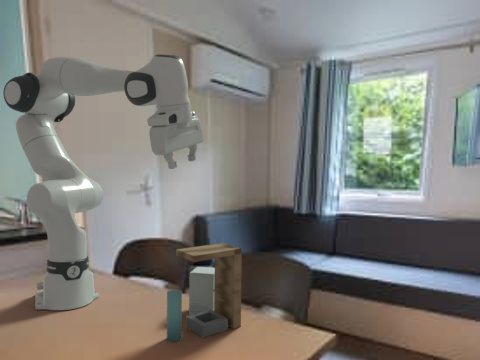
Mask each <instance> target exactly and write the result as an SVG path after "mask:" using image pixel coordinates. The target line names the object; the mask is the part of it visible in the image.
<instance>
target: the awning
mask: <svg viewBox="0 0 480 360" xmlns="http://www.w3.org/2000/svg"><path fill="white" fill-rule="evenodd" d="M242 249H243V248H241V247H239V246H234V245H231V244H227V243H225V242H217V243H211V244H205V245H198V246H192V247H184V248H177V249H176V251H175V255H176V256H177V257H180V258H182V259H184V260H188V261H191V262H193V263H196V262H203V261H207V260H208V261H209V260H213V259H214V268H215V296H214V311H215V312H217V313H218V314H220V315H222V316H224V317H226V318H228V328H229V327H230V328H231V329H233V330H234V329H237V328H241V326H242V262H243V261H242V257H243V256H242V253H243V252H242Z"/></svg>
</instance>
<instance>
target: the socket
mask: <svg viewBox="0 0 480 360" xmlns="http://www.w3.org/2000/svg"><path fill="white" fill-rule="evenodd" d="M186 328H187V329H189V330H190V331H192V332H193V333H195V334H196V335H198V336H199V337H201V338H202V339H204V338H206V337H210V336H213V335H216V334H219V333H222V332H225V331H228V330H229V326H228V318H226V317H224V316H222V315H220V314H218V313H217V312H215V311H213V310H208V311H204V312H201V313H197V314H193V315H187V316H186Z"/></svg>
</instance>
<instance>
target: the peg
mask: <svg viewBox="0 0 480 360" xmlns="http://www.w3.org/2000/svg"><path fill="white" fill-rule="evenodd" d="M182 293H183V292H182V290H181V289H170V290H167V292H166V341H168V342H169V343H177V342H180V341H181V340H182V320H183V319H182V312H183V311H182V310H183V309H182V304H183V303H182V301H183V299H182Z"/></svg>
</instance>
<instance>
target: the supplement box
mask: <svg viewBox="0 0 480 360" xmlns="http://www.w3.org/2000/svg"><path fill="white" fill-rule="evenodd" d="M188 281H189V283H188V284H189V286H188V288H189V290H188V293H189V294H188V295H189V296H188V297H189V298H188V300H189V301H188V316H190V315H193V314H197V313H201V312H204V311H208V310H213V311H214V296H215V267H213V266H212V267H207V266H206V267H205V266H195V268H194V269H192V270H191V271H190V272H189V280H188Z"/></svg>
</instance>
